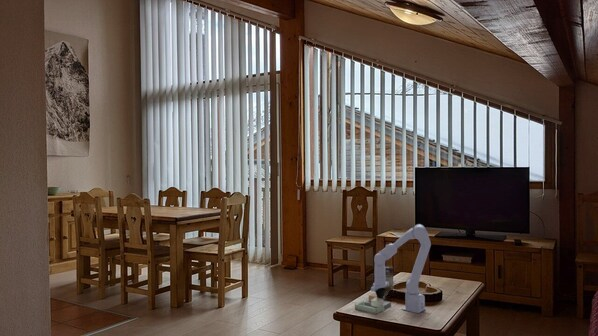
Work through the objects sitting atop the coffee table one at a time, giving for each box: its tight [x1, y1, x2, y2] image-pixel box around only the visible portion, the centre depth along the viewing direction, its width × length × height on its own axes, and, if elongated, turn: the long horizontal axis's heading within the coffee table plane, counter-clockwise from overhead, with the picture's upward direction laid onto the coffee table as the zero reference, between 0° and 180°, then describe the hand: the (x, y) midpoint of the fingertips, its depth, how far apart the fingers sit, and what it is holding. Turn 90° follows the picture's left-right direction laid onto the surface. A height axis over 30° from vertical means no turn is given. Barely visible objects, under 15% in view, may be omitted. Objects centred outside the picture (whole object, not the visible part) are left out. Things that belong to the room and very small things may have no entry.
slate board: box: [364, 299, 392, 310], centre depth 268 cm, size 12×8×2 cm
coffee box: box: [383, 265, 394, 297], centre depth 288 cm, size 9×6×16 cm
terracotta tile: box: [368, 292, 377, 301], centre depth 270 cm, size 4×4×3 cm
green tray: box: [354, 300, 385, 315], centre depth 262 cm, size 13×8×2 cm, turn 49°
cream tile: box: [371, 298, 384, 308], centre depth 263 cm, size 4×4×3 cm
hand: (380, 301), depth 264 cm, fingers closed, pressing on cream tile
